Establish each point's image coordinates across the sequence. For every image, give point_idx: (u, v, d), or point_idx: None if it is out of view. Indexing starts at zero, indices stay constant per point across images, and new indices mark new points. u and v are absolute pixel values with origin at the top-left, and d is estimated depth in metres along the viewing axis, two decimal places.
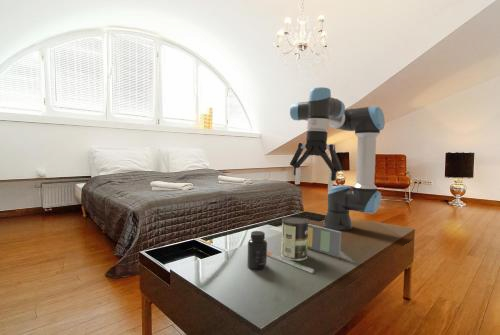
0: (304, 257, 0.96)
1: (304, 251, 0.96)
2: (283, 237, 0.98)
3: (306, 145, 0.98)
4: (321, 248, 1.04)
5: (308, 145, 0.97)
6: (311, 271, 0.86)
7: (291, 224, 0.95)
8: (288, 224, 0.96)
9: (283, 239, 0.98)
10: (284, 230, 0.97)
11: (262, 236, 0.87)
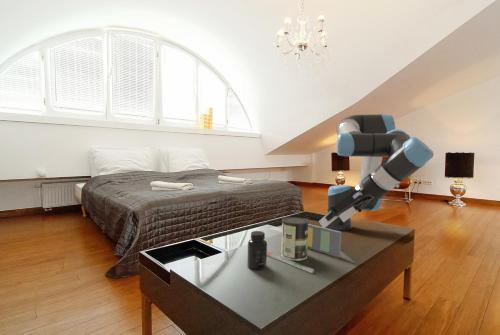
0: (304, 257, 0.96)
1: (304, 251, 0.96)
2: (283, 237, 0.98)
3: (363, 197, 0.77)
4: (321, 248, 1.04)
5: (364, 197, 0.78)
6: (311, 271, 0.86)
7: (291, 224, 0.95)
8: (288, 224, 0.96)
9: (283, 239, 0.98)
10: (284, 230, 0.97)
11: (262, 236, 0.87)
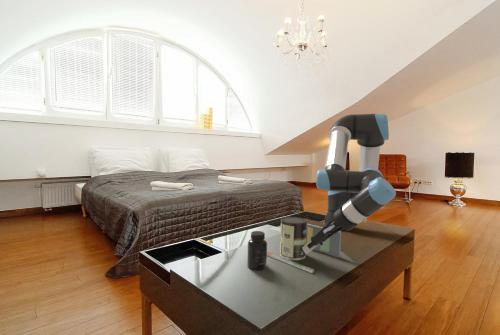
0: (302, 257, 0.97)
1: (302, 251, 0.97)
2: (282, 237, 0.98)
3: (334, 229, 0.84)
4: (321, 248, 1.04)
5: (336, 228, 0.84)
6: (311, 271, 0.86)
7: (289, 224, 0.95)
8: (286, 224, 0.96)
9: (282, 239, 0.98)
10: (283, 230, 0.98)
11: (262, 236, 0.87)
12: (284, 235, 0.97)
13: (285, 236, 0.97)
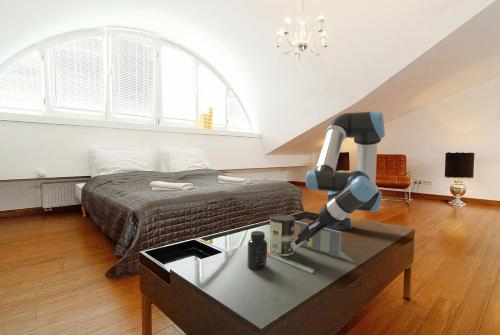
0: (290, 252, 1.00)
1: (290, 247, 1.00)
2: (270, 233, 1.02)
3: (319, 225, 0.88)
4: (321, 248, 1.04)
5: (321, 224, 0.88)
6: (311, 271, 0.86)
7: (278, 221, 0.99)
8: (275, 221, 1.00)
9: (270, 235, 1.02)
10: (271, 227, 1.02)
11: (262, 236, 0.87)
12: (273, 232, 1.01)
13: (274, 233, 1.00)
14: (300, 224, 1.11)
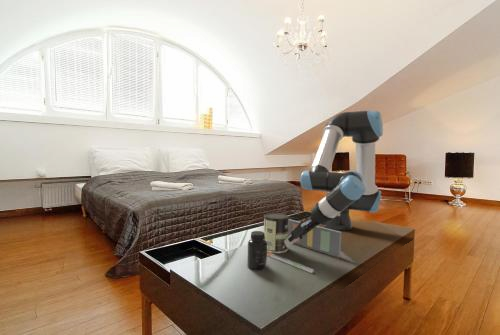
0: (284, 250, 1.03)
1: (284, 244, 1.03)
2: (265, 231, 1.05)
3: (311, 223, 0.91)
4: (321, 248, 1.04)
5: (313, 222, 0.91)
6: (311, 271, 0.86)
7: (272, 219, 1.02)
8: (269, 219, 1.02)
9: (265, 233, 1.05)
10: (266, 225, 1.04)
11: (262, 236, 0.87)
12: (267, 230, 1.03)
13: (268, 231, 1.03)
14: None
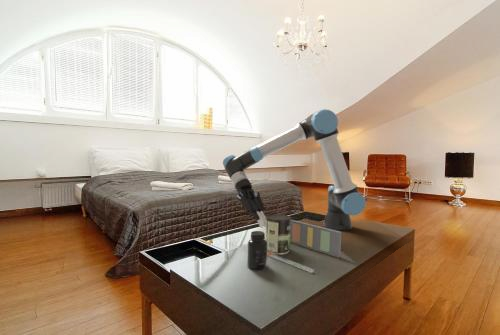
0: (286, 251, 1.02)
1: (286, 246, 1.02)
2: (267, 233, 1.04)
3: (242, 191, 1.15)
4: (321, 248, 1.04)
5: (243, 190, 1.16)
6: (311, 271, 0.86)
7: (274, 220, 1.01)
8: (271, 220, 1.01)
9: (267, 235, 1.04)
10: (268, 226, 1.03)
11: (262, 236, 0.87)
12: (269, 231, 1.02)
13: (270, 232, 1.02)
14: (300, 224, 1.11)
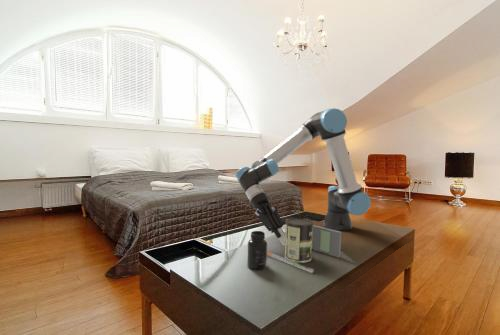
0: (308, 259, 0.95)
1: (308, 253, 0.95)
2: (287, 239, 0.96)
3: (260, 207, 1.08)
4: (321, 248, 1.04)
5: (260, 206, 1.09)
6: (311, 271, 0.86)
7: (295, 225, 0.93)
8: (292, 225, 0.94)
9: (287, 241, 0.96)
10: (288, 231, 0.96)
11: (262, 236, 0.87)
12: (290, 237, 0.95)
13: (291, 238, 0.95)
14: None
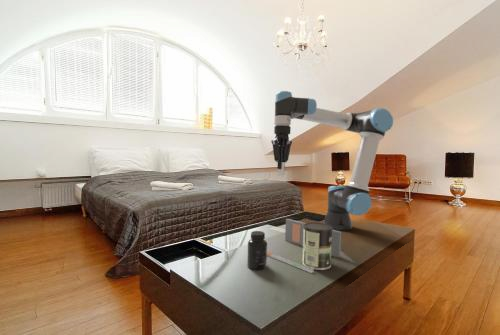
0: (328, 266, 0.89)
1: (328, 259, 0.89)
2: (305, 244, 0.91)
3: (279, 138, 1.17)
4: None
5: (280, 136, 1.17)
6: (311, 271, 0.86)
7: (314, 230, 0.88)
8: (311, 230, 0.88)
9: (305, 246, 0.91)
10: (306, 237, 0.90)
11: (262, 236, 0.87)
12: (308, 243, 0.89)
13: (309, 244, 0.89)
14: (300, 224, 1.11)
